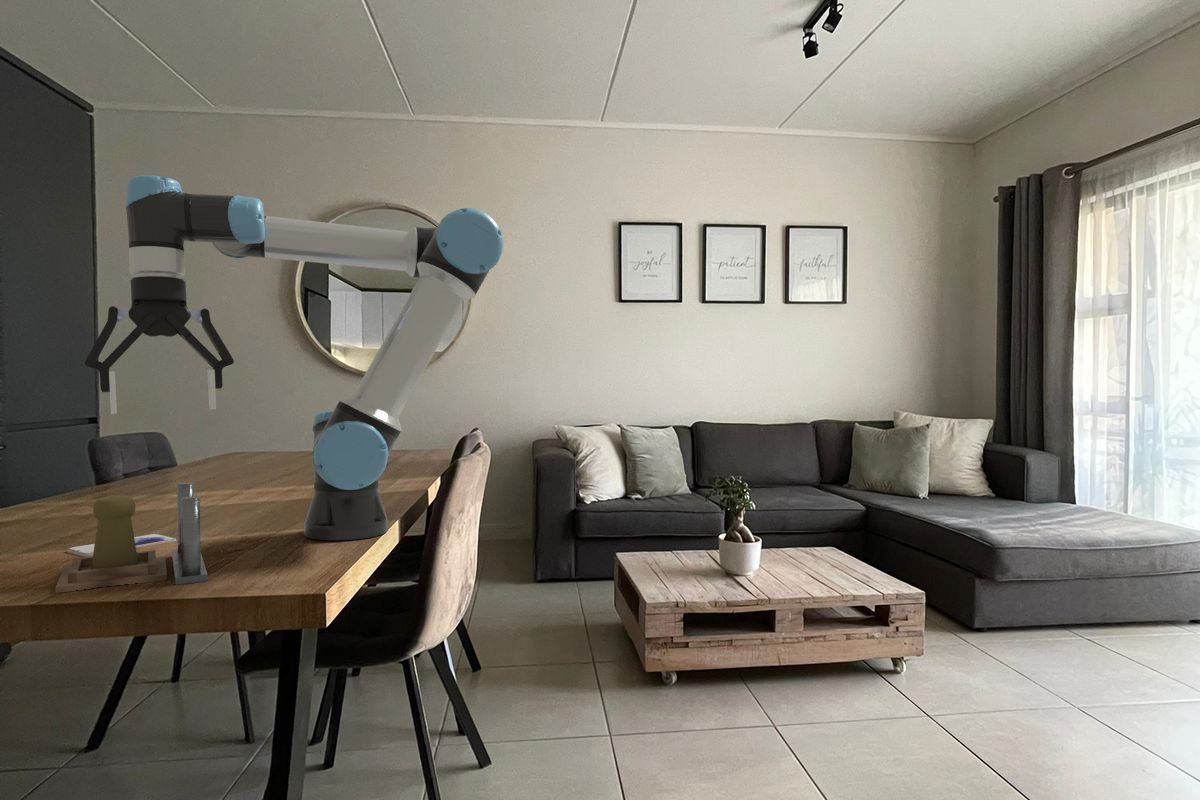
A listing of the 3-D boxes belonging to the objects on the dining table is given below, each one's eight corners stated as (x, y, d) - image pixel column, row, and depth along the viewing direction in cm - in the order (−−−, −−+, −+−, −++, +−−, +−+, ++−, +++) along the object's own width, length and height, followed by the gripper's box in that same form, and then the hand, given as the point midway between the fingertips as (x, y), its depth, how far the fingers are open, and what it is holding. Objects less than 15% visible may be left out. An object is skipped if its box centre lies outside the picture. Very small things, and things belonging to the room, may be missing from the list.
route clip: (199, 553, 123) (198, 481, 123) (207, 581, 106) (207, 498, 106) (171, 556, 121) (171, 483, 121) (175, 584, 104) (174, 500, 104)
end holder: (165, 561, 118) (164, 547, 118) (166, 580, 106) (166, 565, 106) (64, 571, 111) (64, 557, 111) (55, 593, 100) (55, 576, 100)
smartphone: (178, 538, 133) (85, 554, 120) (177, 543, 133) (85, 559, 120) (156, 533, 137) (64, 548, 124) (156, 538, 137) (64, 553, 124)
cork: (124, 563, 113) (123, 492, 113) (148, 568, 110) (147, 494, 110) (81, 572, 107) (80, 497, 107) (105, 577, 105) (104, 500, 104)
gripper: (240, 284, 127) (246, 407, 128) (61, 276, 113) (69, 415, 113) (248, 278, 121) (254, 408, 121) (59, 270, 106) (67, 416, 107)
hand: (164, 411), depth 117 cm, fingers open, 13 cm apart
